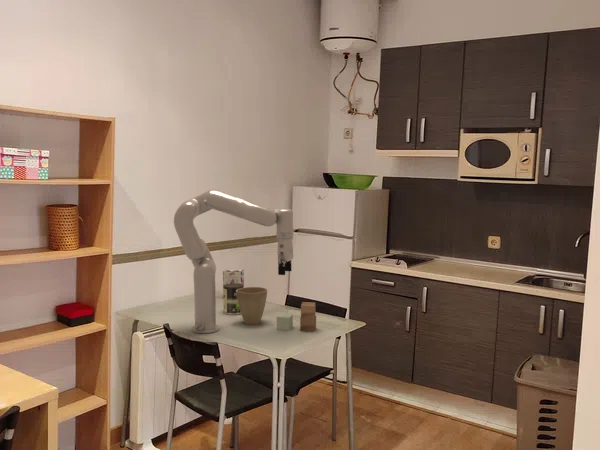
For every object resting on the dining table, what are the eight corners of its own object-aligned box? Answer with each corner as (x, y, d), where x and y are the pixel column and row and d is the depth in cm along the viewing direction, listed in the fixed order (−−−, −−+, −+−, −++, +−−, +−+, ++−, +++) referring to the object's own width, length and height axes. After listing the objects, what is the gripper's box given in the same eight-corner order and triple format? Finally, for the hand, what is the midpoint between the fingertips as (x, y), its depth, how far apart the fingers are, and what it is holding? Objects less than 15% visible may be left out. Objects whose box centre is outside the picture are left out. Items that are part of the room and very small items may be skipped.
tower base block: (312, 331, 269) (312, 318, 269) (300, 330, 271) (300, 317, 270) (316, 328, 275) (316, 315, 275) (303, 327, 277) (303, 314, 276)
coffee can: (247, 311, 305) (247, 284, 304) (233, 315, 297) (233, 288, 296) (233, 308, 312) (232, 282, 310) (219, 312, 303) (218, 285, 302)
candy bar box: (244, 297, 338) (244, 269, 336) (242, 299, 333) (241, 270, 331) (225, 296, 340) (225, 268, 338) (222, 298, 335) (222, 270, 333)
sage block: (289, 330, 271) (289, 317, 271) (276, 329, 273) (276, 316, 272) (292, 327, 277) (292, 314, 277) (280, 326, 279) (280, 313, 278)
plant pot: (265, 317, 293) (265, 286, 292) (269, 325, 279) (269, 292, 277) (235, 319, 291) (235, 287, 289) (237, 327, 276) (237, 293, 275)
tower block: (314, 318, 269) (314, 305, 269) (300, 318, 270) (300, 305, 269) (315, 315, 275) (315, 302, 274) (302, 314, 276) (302, 302, 275)
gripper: (287, 238, 262) (287, 276, 263) (297, 234, 278) (297, 270, 280) (270, 238, 264) (271, 276, 265) (282, 233, 280) (282, 269, 282)
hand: (284, 272), depth 273 cm, fingers open, 9 cm apart
